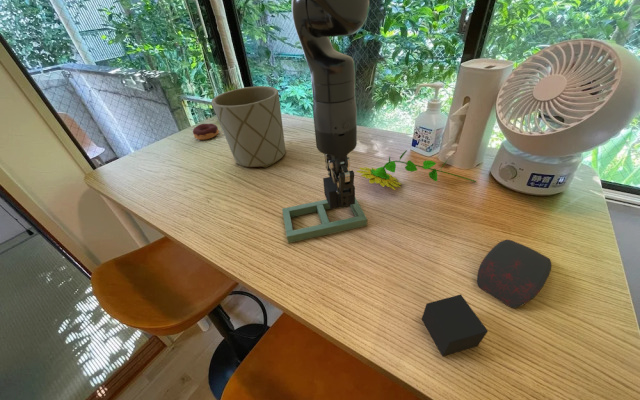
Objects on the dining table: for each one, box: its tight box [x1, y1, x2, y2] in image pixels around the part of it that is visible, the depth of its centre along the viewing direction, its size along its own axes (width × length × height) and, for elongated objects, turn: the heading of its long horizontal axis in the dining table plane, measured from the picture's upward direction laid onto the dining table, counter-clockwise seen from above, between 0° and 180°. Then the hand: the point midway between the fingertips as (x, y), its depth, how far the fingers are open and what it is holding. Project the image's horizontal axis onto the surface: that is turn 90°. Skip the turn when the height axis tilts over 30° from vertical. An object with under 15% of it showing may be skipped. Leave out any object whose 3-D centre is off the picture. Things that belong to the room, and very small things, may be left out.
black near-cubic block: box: [322, 176, 356, 210], centre depth 54 cm, size 5×5×4 cm
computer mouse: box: [476, 239, 552, 309], centre depth 42 cm, size 8×14×4 cm, turn 130°
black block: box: [421, 294, 489, 357], centre depth 36 cm, size 5×5×4 cm
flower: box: [355, 149, 477, 191], centre depth 64 cm, size 12×9×30 cm
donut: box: [192, 123, 220, 141], centre depth 103 cm, size 10×10×4 cm
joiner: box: [281, 197, 368, 244], centre depth 57 cm, size 10×18×2 cm, turn 103°
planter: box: [211, 85, 286, 169], centre depth 79 cm, size 19×19×20 cm
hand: (339, 197), depth 55 cm, fingers closed on black near-cubic block, 5 cm apart
